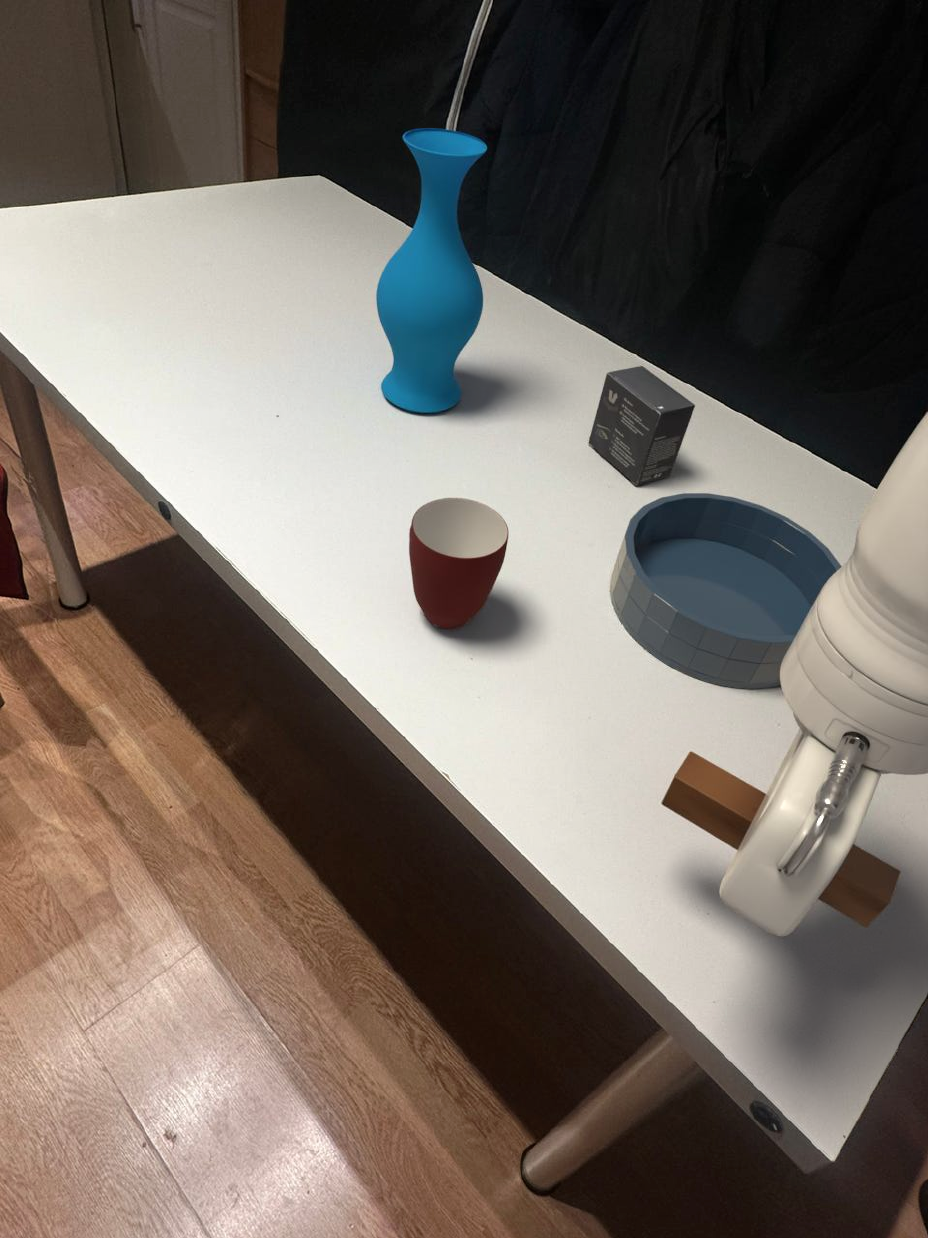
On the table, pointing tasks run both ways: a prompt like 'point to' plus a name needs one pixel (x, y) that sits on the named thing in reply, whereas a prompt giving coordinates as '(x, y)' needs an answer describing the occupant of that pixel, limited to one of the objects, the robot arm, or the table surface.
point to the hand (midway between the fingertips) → (776, 834)
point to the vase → (431, 280)
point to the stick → (729, 814)
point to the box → (640, 424)
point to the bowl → (717, 586)
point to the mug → (455, 558)
